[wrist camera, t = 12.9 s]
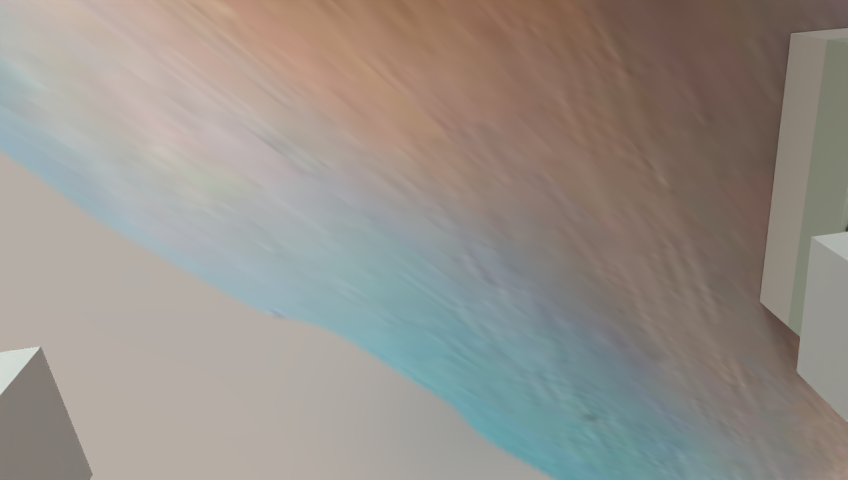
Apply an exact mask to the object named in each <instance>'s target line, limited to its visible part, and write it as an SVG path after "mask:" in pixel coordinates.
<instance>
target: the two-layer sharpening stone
mask: <svg viewBox="0 0 848 480" xmlns="http://www.w3.org/2000/svg"><path fill="white" fill-rule="evenodd" d="M847 225H848V28H842V29H831V30H821V31H810V32H800V33H791V38H790V46H789V55H788V63H787V72H786V80H785V89H784V97H783V106H782V114H781V123H780V131H779V140H778V148H777V157H776V165H775V174H774V182H773V191H772V200H771V208H770V217H769V225H768V234H767V242H766V251H765V259H764V268H763V276H762V285H761V293H760V302H761V303H762V304H763V305H764V306H765V307H766V308H767V309H769V310H770V311H771V312H772V313H773V314H774V315H775V316H777V317H778V318H779V319H780V320H781V321H782V322H783V323H785V324H786V325H787V326H788V327H789V328H790V329H791V330H792V331H794V332H795V333H796V334H797V335H798V336H799V337H800V336H801V327H802V318H803V309H804V299H805V290H806V281H807V272H808V263H809V254H810V245H811V237H814V236H821V235H828V234H835V233H842V232H846V227H847Z"/></svg>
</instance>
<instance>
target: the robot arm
mask: <svg viewBox="0 0 848 480" xmlns="http://www.w3.org/2000/svg"><path fill="white" fill-rule="evenodd" d="M797 373H798V374H799V375H800V376H801V377H802V378H803V379H804V380H805V381H806V382H807V383H808V384H809V385H810V386H811V387H812V388H813V389H814V390H815V391H816V392H817V393H818V394H819V395H820V396H821V397H822V398H823V399H824V400H825V401H826V402H827V403H828V404H829V405H830V406H831V407H832V408H833V409H834V410H835V411H836V412H837V413H838V414H839V415H840V416H841V417H842V418H843V419H844V420H845V421H846V422H847V423H848V232H842V233H835V234H828V235H821V236H814V237H811V245H810V254H809V263H808V272H807V281H806V290H805V299H804V309H803V318H802V327H801V336H800V345H799V354H798V363H797ZM91 476H92V472H91V469H90V467H89V464H88V462H87V459H86V457H85V454H84V452H83V449H82V447H81V444H80V442H79V440H78V437H77V435H76V432H75V430H74V427H73V425H72V422H71V420H70V417H69V415H68V412H67V410H66V407H65V405H64V402H63V400H62V397H61V395H60V393H59V390H58V388H57V385H56V383H55V380H54V378H53V375H52V373H51V370H50V368H49V365H48V363H47V360H46V358H45V355H44V353H43V350H42V348H41V347H35V348H27V349H20V350H13V351H6V352H0V480H90V478H91Z"/></svg>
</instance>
